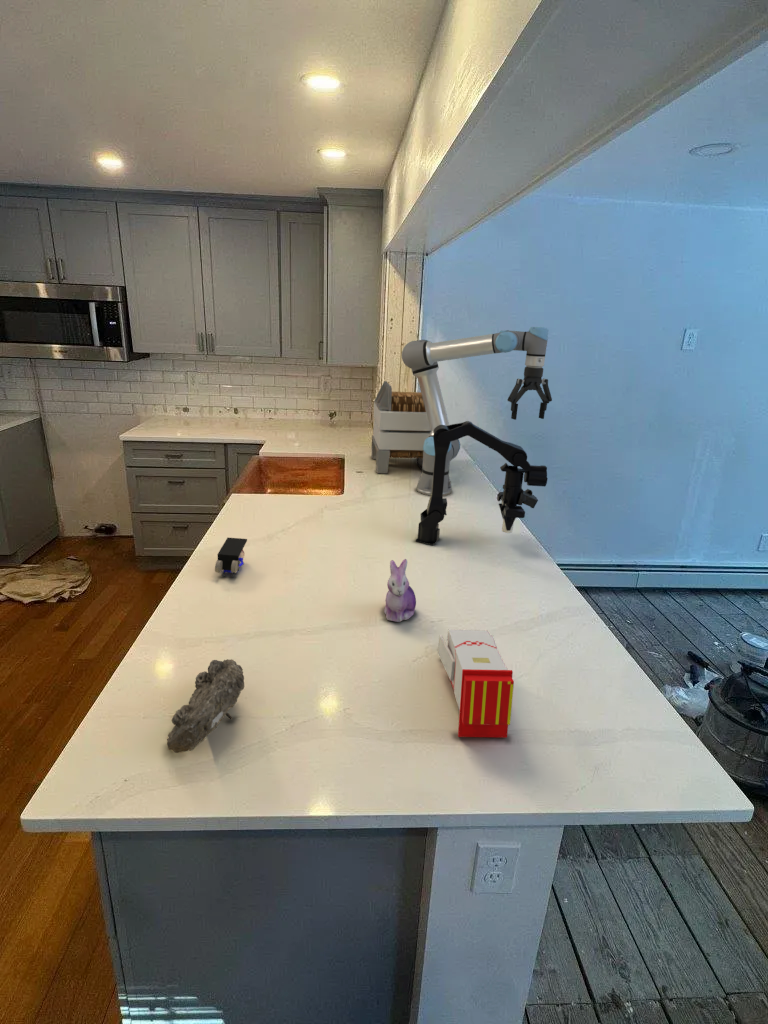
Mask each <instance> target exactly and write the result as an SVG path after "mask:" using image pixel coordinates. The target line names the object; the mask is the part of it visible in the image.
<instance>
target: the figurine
mask: <svg viewBox="0 0 768 1024" xmlns="http://www.w3.org/2000/svg"><path fill="white" fill-rule="evenodd" d="M407 567H408V559H406V558H404V559H403V560H402V561H401V563H400V565H399V566H398V565H397V563H396V562H395V561H394V560H393V559H391V560H390V561H389V570H390V576H389V578H388V579H387V589H388V591H387V592H386V594H385V595H386V596H385V607H384V615H385V616H386V620H387V621H391V622H395V623H400V622H402V621H406V620H409V619H410V618H411V617H413V616H414V615H415V610H416V606H417V597H416V593H415V591H414V590H413V587H411V586H410V582H409V579H408V577H407V574H406V571H407Z"/></svg>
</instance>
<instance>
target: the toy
mask: <svg viewBox="0 0 768 1024" xmlns="http://www.w3.org/2000/svg"><path fill="white" fill-rule="evenodd" d="M446 640H447V643H446V641H445V639H444V636H443V635H442V634H439V637H438V646H437V656H438V657H439V659H440V661H441V663H442V666H443V668H444V670H445V672H446V674H447V677H448V679H449V681H450V684H451V687H452V690H453V693H454V697H455V701H456V705H457V708H458V711H459V714H458V715H459V716H458V730H457V731H458V732H457V737H458V738H508V731H509V726H510V725H511V717H512V707H513V697H514V696H513V695H514V684H515V680H514V679H513V673H514V671H513V670H512V669H508V667H507V665H506V662H505V661H504V659H503V658H502V655H501V653H500V651H499V649H498V647H497V643H496V639H495V637H494V635H493V634H491V632H490V631H489V629H467V628H466V629H465V628H463V629H461V628H460V629H459V628H448V630H447V639H446Z"/></svg>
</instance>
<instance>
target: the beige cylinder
mask: <svg viewBox="0 0 768 1024" xmlns="http://www.w3.org/2000/svg"><path fill="white" fill-rule="evenodd" d="M514 523H515V522H514ZM514 523H513V525H512V527H511V529H510V531H507V529H506V525H505V521H504V518H502V527H501V532H502V533H505V534H511V533H513V531H514Z"/></svg>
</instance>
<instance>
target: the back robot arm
mask: <svg viewBox="0 0 768 1024" xmlns="http://www.w3.org/2000/svg"><path fill="white" fill-rule="evenodd" d="M548 339H549V329H548V328H547V327H544V326H543V327H542V326H530V327H529V330H528V331H520V330H509V329H507V330H500V331H498V332H496V333H488V334H483V335H476V336H475V335H474V336H469V337H463V338H457V339H456V338H455V339H450V340H443V341H442V340H441V341H437V342H432V341H430V340H429V339H428V340H427V339H418V340H411V341H409V342H407V343H406V344H405V345H404V346H403V349H402V351H401V359H402V362H403V364H404V365H405V366H406V367H407V368H409V369H411V373H412V375H413V376H414V377H415V378H416V379H417V381H418V386H419V390H420V392H421V394H422V398H423V402H424V406H425V410H426V414H427V418H428V422H429V426H430V429H431V431H430V433H429V437H428V438H427V439H426V440H425V441H424V446H423V460H422V466H421V465H420V463H419V459H420V458H416V465H417V467H418V468H419V470H421V475H420V477H419V479H418V482H417V484H416V491H417V492H418V493H419V494H421V495H425V496H429V497H430V496H431V493H432V483H433V471H434V459H435V449H434V439H433V431H434V429H435V428H436V427H437V426H439V425H445V426H448V425H450V422H449V418H448V414H447V411H446V406H445V402H444V397H443V394H442V389H441V385H440V382H439V378H438V370H439V363H438V362H444V361H451V360H458V359H465V358H474V357H480V356H486V355H493V354H500V353H501V354H504V353H506V354H507V353H511V352H512V351H520V352H526V353H525V362H524V365H525V367H524V369H523V379H522V378H517V379H516V381H515V384H514V387H513V389H512V390H511V392H510V394H509V395H508V398H507V402H509V403H510V411H511V415H510V419H511V420H515V421H516V420H517V416H518V409H519V403H518V402H519V401H520V400H521V398H522V397H523V396H524V395H525V393H527V392H528V391H536V393H537V395H538V396H539V398H540V400H541V402H540V404H539V412H538V419H542V420H544V419H545V414H546V413H545V412H547V408H548V404H549V403H550V402H552V401H553V397H552V395H551V390H550V387H549V379H548V378H542V377H544V376H543V375H544V368H543V367H544V366H545V361H546V353H547V347H548ZM541 385H542V386H541ZM460 450H461V441H460V439H457V440H454V441H451V442H450V446H449V449H448V452H447V455H446V463H445V474H444V485H443V497H445V496H449V495H451V494H452V489H453V488H452V481H451V480H450V463H451V461H452V460H453V459H455V458H456V457H457V456H458V454H459V453H460Z"/></svg>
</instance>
